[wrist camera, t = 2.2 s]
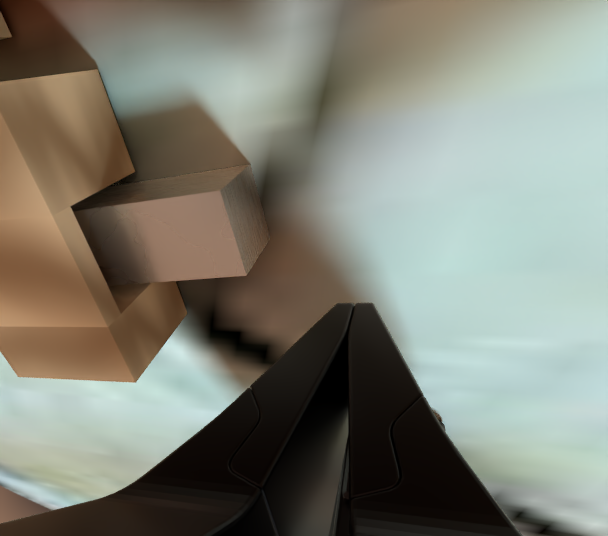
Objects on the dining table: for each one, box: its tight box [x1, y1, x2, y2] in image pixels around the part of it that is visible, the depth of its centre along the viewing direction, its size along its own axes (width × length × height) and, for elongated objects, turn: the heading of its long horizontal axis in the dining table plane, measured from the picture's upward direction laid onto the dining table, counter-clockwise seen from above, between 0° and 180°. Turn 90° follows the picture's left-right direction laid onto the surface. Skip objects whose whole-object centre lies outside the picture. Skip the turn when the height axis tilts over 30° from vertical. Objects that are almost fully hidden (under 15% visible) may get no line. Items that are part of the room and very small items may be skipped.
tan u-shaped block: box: [0, 69, 187, 382], centre depth 16 cm, size 11×6×5 cm, turn 9°
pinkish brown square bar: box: [70, 164, 270, 286], centre depth 17 cm, size 18×3×3 cm, turn 102°
